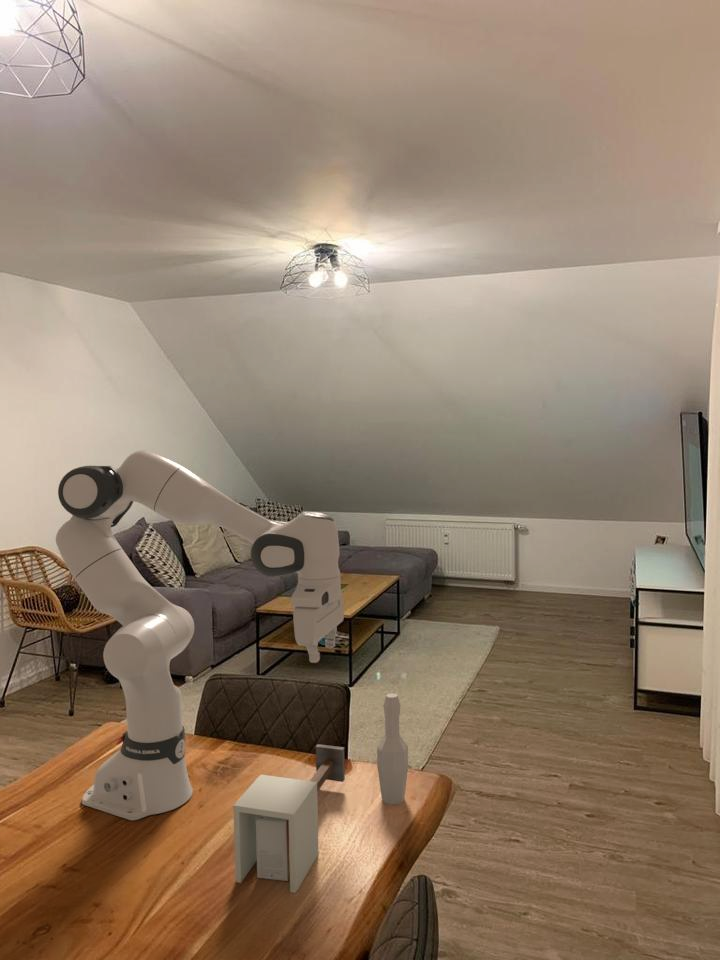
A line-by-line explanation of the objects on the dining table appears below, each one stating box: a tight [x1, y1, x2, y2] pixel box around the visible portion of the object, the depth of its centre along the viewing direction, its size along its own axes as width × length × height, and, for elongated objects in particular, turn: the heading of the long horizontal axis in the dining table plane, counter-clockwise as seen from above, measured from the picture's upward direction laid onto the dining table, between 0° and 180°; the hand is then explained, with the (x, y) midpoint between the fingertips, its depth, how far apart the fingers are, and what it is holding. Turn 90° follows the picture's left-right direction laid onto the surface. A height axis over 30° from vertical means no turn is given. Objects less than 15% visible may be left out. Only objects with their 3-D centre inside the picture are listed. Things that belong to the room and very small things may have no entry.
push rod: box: [309, 743, 346, 793], centre depth 138 cm, size 6×24×7 cm, turn 164°
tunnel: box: [232, 774, 319, 894], centre depth 122 cm, size 11×11×14 cm
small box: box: [256, 815, 290, 882], centre depth 122 cm, size 8×6×10 cm
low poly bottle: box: [376, 693, 409, 806], centre depth 144 cm, size 6×6×22 cm
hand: (322, 654), depth 147 cm, fingers open, 8 cm apart
